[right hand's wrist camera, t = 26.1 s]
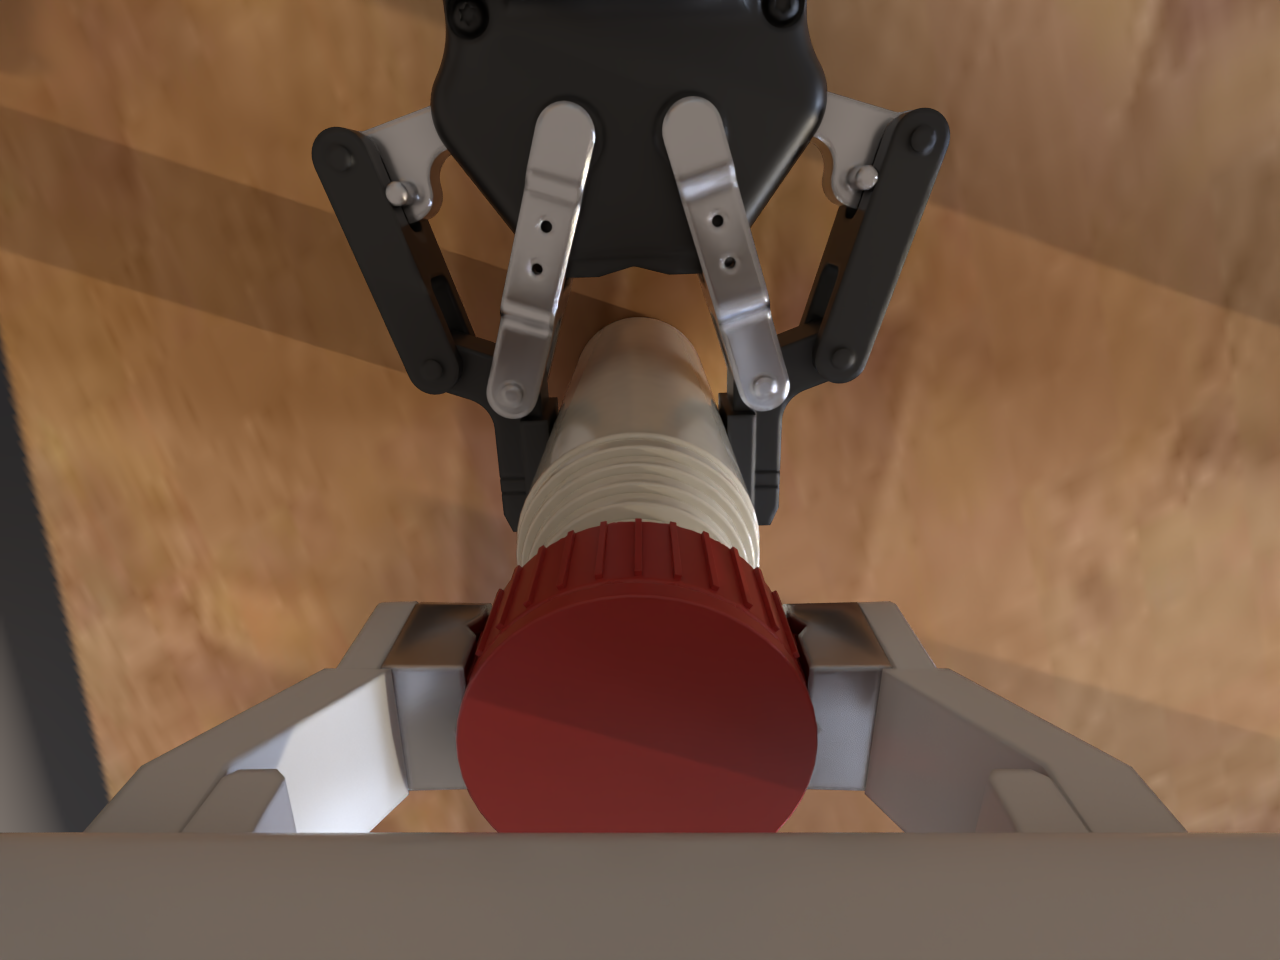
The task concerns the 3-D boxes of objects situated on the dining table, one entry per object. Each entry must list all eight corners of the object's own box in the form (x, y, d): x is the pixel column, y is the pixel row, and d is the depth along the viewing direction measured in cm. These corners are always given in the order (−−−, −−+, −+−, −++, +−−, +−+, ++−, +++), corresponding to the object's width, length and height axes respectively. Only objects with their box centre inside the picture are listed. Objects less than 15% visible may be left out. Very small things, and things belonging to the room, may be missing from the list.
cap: (434, 566, 10) (388, 650, 8) (747, 475, 9) (773, 543, 7) (545, 802, 11) (527, 920, 9) (820, 734, 11) (857, 845, 9)
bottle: (550, 365, 25) (384, 672, 9) (656, 289, 24) (687, 480, 8) (624, 464, 26) (597, 890, 10) (727, 396, 25) (878, 745, 9)
